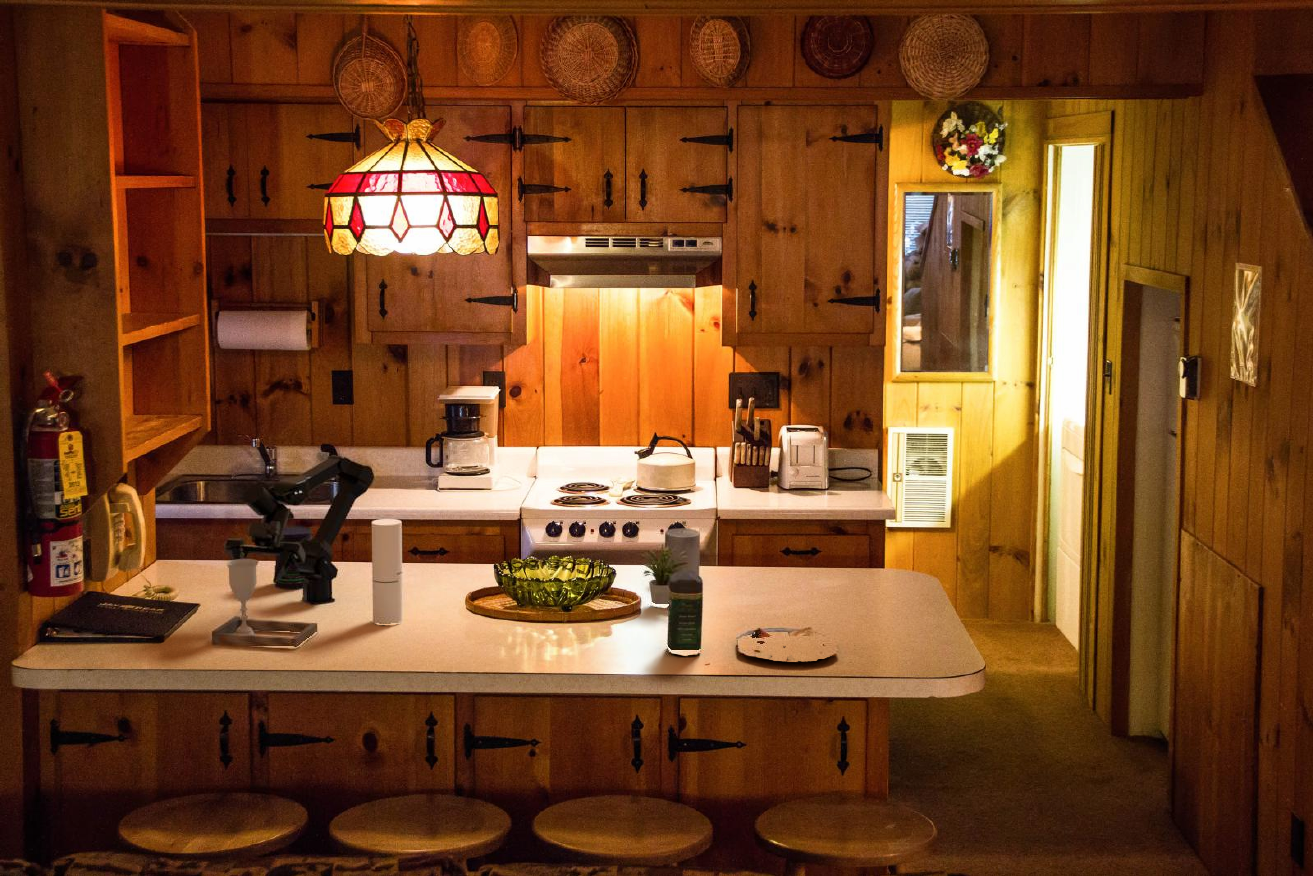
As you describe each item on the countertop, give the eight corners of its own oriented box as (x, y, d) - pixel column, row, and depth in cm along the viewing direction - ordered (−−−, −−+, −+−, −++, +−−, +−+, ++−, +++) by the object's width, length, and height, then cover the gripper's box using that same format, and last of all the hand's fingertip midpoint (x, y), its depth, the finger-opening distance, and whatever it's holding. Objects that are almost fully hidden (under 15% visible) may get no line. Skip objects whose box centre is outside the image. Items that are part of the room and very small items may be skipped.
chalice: (231, 643, 338) (229, 567, 335) (225, 635, 344) (223, 560, 341) (263, 639, 341) (261, 564, 338) (256, 631, 347) (255, 557, 344)
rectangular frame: (317, 633, 347) (317, 621, 346) (296, 649, 334) (296, 637, 333) (235, 628, 349) (235, 616, 349) (212, 644, 337) (211, 631, 336)
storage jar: (320, 584, 391) (319, 529, 389) (293, 591, 383) (292, 536, 380) (294, 578, 396) (293, 524, 394) (266, 585, 388) (265, 531, 386)
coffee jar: (702, 658, 334) (704, 579, 331) (668, 657, 333) (670, 578, 330) (699, 645, 343) (701, 568, 340) (666, 645, 343) (667, 568, 340)
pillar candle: (666, 575, 407) (667, 523, 405) (701, 577, 406) (702, 524, 403) (661, 584, 398) (662, 531, 395) (697, 586, 396) (698, 532, 394)
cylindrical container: (408, 620, 359) (407, 520, 355) (391, 627, 352) (390, 526, 349) (384, 616, 362) (383, 517, 358) (366, 623, 355) (365, 523, 351)
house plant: (657, 617, 365) (658, 554, 363) (621, 605, 375) (622, 544, 373) (698, 608, 374) (700, 546, 372) (663, 596, 385) (664, 536, 382)
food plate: (735, 633, 353) (735, 619, 352) (831, 637, 352) (832, 623, 351) (737, 669, 328) (738, 654, 327) (841, 673, 327) (842, 658, 327)
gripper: (226, 505, 351) (207, 561, 343) (300, 510, 349) (284, 566, 340) (240, 530, 361) (222, 585, 352) (312, 534, 358) (296, 590, 349)
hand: (255, 581), depth 348 cm, fingers open, 9 cm apart
